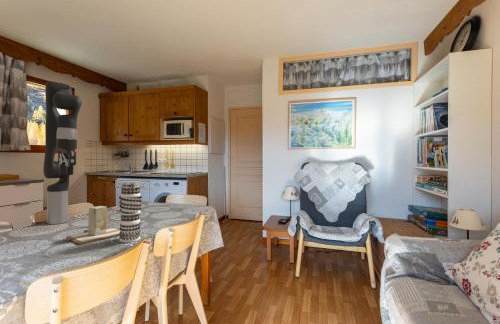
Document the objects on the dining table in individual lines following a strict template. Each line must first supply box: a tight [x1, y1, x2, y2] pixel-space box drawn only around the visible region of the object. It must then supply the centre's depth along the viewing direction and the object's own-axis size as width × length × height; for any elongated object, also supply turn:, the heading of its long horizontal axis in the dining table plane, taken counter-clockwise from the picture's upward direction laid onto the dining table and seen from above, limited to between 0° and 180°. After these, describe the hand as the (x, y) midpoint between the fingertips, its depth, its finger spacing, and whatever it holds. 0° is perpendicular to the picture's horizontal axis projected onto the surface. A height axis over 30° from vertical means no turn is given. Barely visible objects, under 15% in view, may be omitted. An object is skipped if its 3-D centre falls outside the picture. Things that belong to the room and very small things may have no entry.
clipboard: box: [65, 226, 121, 246], centre depth 116 cm, size 14×20×2 cm
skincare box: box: [87, 205, 108, 236], centre depth 116 cm, size 6×4×12 cm
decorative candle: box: [118, 182, 143, 243], centre depth 112 cm, size 9×9×25 cm
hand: (66, 174), depth 115 cm, fingers open, 8 cm apart
